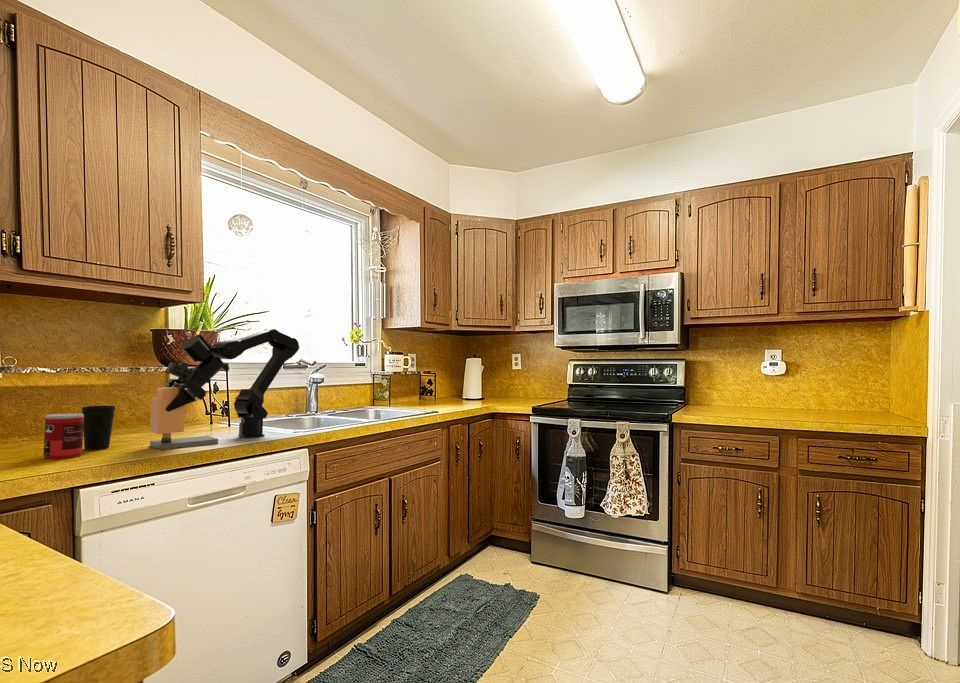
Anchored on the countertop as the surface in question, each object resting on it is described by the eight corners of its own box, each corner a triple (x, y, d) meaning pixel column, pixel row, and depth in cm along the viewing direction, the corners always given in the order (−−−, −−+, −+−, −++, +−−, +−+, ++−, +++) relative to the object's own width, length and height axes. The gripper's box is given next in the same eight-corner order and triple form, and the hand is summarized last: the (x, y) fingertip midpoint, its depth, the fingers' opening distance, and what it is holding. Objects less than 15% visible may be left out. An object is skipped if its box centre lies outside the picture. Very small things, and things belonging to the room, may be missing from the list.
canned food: (49, 455, 135) (51, 413, 135) (86, 453, 138) (88, 412, 138) (37, 460, 128) (40, 416, 128) (76, 458, 131) (78, 416, 131)
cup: (75, 451, 140) (77, 408, 140) (85, 447, 147) (87, 405, 147) (108, 450, 143) (110, 407, 143) (116, 445, 150) (118, 405, 150)
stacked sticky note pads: (176, 429, 155) (177, 386, 155) (183, 431, 150) (185, 388, 151) (150, 431, 150) (152, 387, 150) (157, 434, 145) (159, 388, 146)
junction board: (207, 440, 162) (207, 426, 163) (218, 443, 156) (218, 429, 157) (149, 445, 151) (150, 430, 151) (159, 449, 145) (160, 434, 145)
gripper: (174, 353, 160) (131, 389, 151) (195, 353, 148) (150, 393, 139) (200, 377, 166) (160, 413, 157) (223, 380, 153) (181, 419, 145)
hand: (162, 409), depth 149 cm, fingers closed on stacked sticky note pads, 7 cm apart
